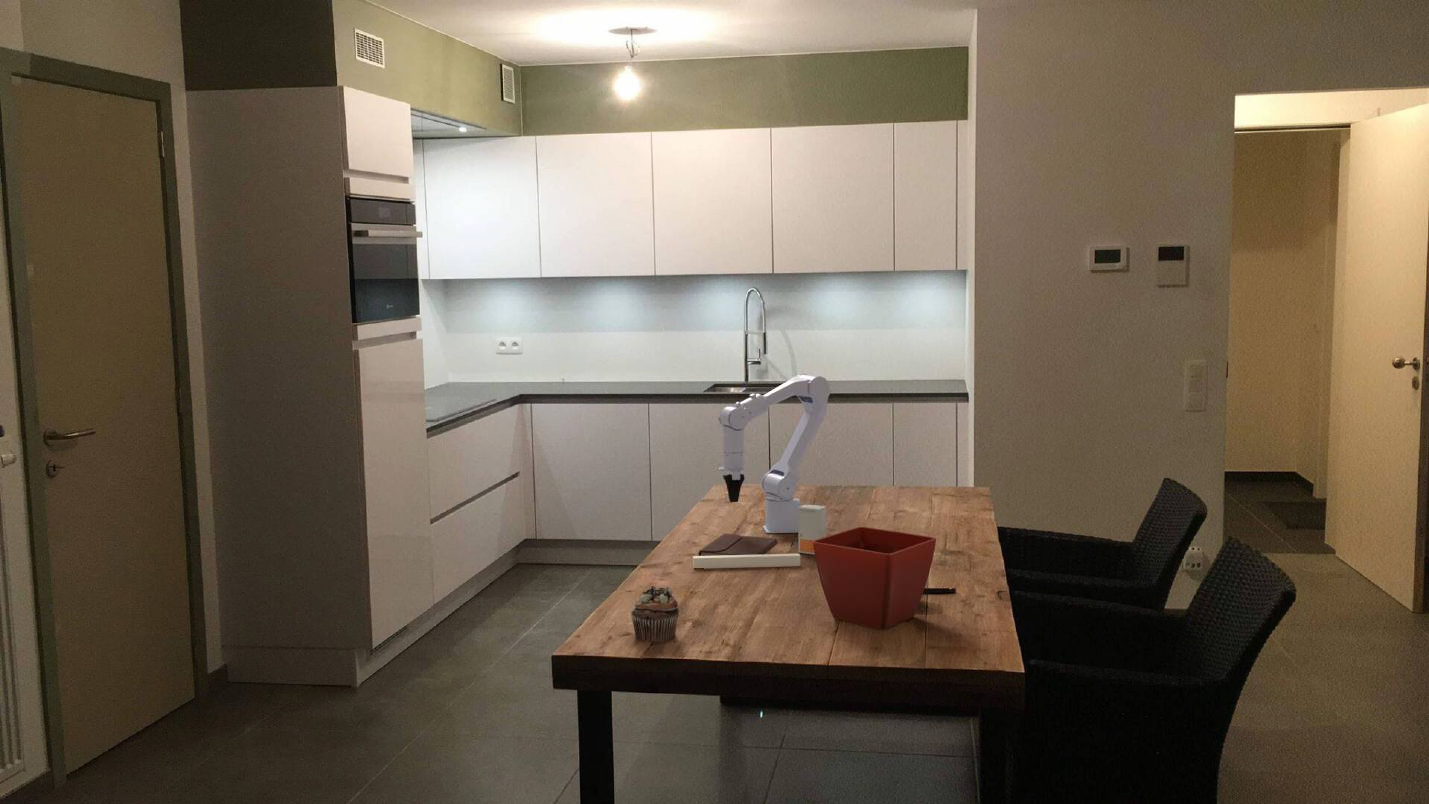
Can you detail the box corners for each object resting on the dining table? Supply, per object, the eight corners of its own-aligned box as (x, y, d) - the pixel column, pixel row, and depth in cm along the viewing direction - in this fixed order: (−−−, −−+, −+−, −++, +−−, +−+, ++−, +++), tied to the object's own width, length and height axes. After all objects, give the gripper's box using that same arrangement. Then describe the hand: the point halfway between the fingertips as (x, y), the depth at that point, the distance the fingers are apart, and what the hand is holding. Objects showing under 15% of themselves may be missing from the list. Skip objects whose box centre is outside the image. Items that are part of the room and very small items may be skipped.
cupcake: (678, 628, 254) (678, 580, 253) (679, 643, 245) (678, 593, 243) (631, 629, 254) (631, 581, 253) (630, 644, 244) (629, 594, 243)
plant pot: (860, 600, 274) (860, 524, 272) (937, 615, 262) (938, 537, 260) (810, 620, 259) (810, 540, 257) (889, 637, 247) (890, 554, 245)
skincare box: (797, 553, 316) (797, 506, 315) (804, 549, 320) (804, 503, 319) (819, 555, 314) (820, 509, 312) (826, 552, 317) (826, 506, 316)
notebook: (777, 544, 328) (777, 536, 328) (755, 562, 310) (755, 554, 309) (723, 540, 333) (723, 533, 333) (698, 557, 315) (698, 549, 314)
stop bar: (798, 564, 306) (798, 553, 305) (800, 566, 304) (800, 555, 303) (693, 566, 303) (692, 556, 303) (693, 568, 301) (693, 558, 301)
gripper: (716, 447, 340) (716, 496, 341) (720, 456, 325) (721, 507, 327) (742, 447, 340) (742, 496, 342) (747, 455, 326) (747, 506, 328)
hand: (733, 501), depth 335 cm, fingers closed
